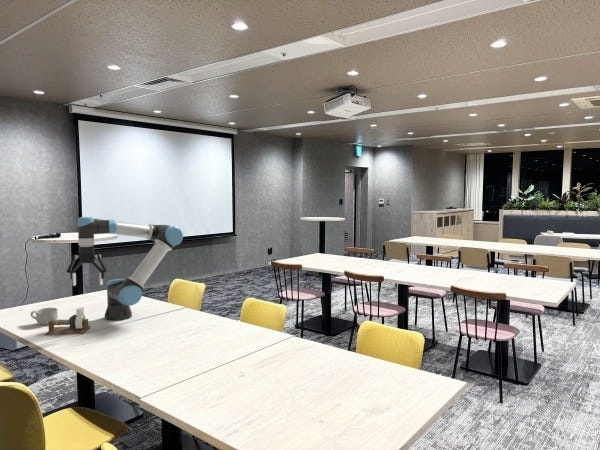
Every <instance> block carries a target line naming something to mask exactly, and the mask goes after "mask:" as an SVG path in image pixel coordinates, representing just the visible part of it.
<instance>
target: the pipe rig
mask: <svg viewBox="0 0 600 450" xmlns="http://www.w3.org/2000/svg"><path fill="white" fill-rule="evenodd" d="M75 320H76V319H74V325H75ZM82 324H83V328H76V327H75V328H74V329H73V330H70V320H69V319H68V318H67V319H57V320H50V321H49V322H48V325H47V326H48V331H46V332H45V333H44V335H45V336H62V335H63V336H64V335H84V334H85V333H87V332H88V331H89V330H90V329H91V328H92V325H89V318H85V319H82Z"/></svg>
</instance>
